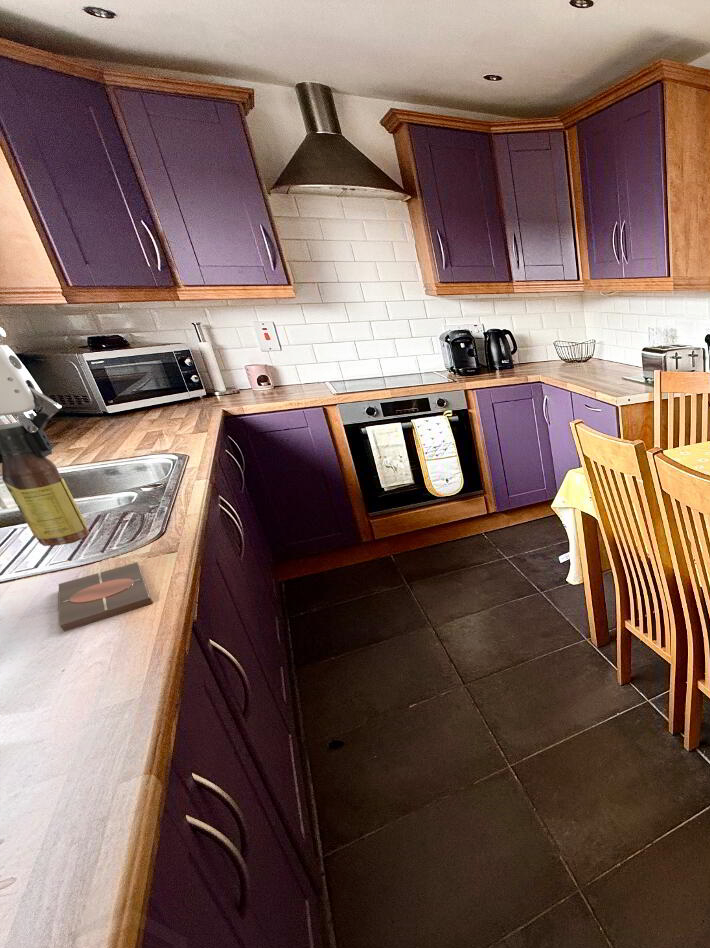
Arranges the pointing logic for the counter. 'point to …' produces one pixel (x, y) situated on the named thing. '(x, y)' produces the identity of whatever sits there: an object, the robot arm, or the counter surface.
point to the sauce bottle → (39, 490)
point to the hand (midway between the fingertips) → (24, 457)
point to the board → (102, 596)
